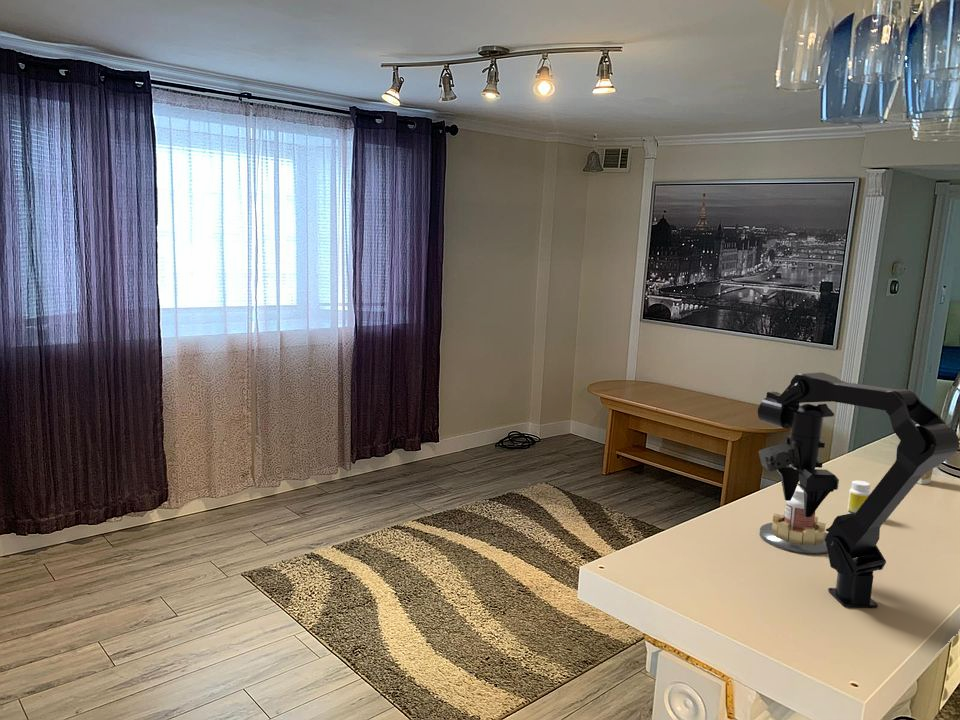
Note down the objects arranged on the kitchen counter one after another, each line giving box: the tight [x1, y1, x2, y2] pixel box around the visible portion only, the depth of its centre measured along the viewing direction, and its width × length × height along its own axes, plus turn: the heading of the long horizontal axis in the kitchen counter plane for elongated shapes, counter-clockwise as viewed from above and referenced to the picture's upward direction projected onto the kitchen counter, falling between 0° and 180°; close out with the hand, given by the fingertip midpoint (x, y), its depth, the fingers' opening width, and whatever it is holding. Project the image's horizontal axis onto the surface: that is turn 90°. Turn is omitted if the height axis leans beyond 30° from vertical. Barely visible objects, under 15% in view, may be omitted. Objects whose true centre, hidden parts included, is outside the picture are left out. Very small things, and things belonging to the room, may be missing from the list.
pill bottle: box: [784, 485, 816, 531], centre depth 164 cm, size 6×6×11 cm
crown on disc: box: [759, 511, 828, 556], centre depth 165 cm, size 16×16×5 cm
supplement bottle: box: [846, 480, 871, 514], centre depth 182 cm, size 5×5×8 cm
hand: (797, 508), depth 148 cm, fingers open, 9 cm apart
